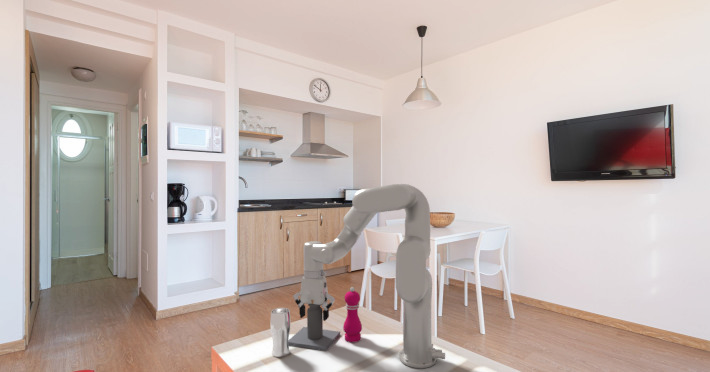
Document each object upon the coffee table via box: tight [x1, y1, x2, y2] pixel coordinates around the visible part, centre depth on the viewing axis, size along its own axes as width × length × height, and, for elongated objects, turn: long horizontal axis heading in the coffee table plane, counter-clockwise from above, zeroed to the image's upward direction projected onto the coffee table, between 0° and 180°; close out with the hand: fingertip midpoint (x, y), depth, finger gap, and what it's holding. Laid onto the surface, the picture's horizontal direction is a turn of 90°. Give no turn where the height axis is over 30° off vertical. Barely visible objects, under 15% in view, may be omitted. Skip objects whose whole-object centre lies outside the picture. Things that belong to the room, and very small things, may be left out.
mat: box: [288, 326, 341, 352], centre depth 131 cm, size 16×14×1 cm
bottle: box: [306, 300, 324, 340], centre depth 131 cm, size 6×6×15 cm
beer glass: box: [269, 307, 291, 358], centre depth 121 cm, size 7×7×15 cm
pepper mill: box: [342, 286, 363, 343], centre depth 132 cm, size 7×7×20 cm
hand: (314, 318), depth 131 cm, fingers open, 9 cm apart
